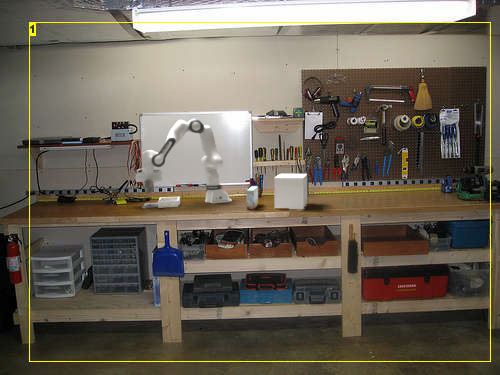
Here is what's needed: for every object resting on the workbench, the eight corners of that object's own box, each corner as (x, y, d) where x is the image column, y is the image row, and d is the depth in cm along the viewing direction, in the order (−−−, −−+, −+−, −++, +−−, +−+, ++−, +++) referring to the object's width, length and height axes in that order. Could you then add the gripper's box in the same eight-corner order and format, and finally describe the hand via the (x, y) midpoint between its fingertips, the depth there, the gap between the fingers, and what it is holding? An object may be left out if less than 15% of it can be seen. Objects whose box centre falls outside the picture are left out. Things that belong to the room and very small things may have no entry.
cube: (303, 211, 273) (303, 178, 269) (274, 210, 278) (274, 177, 275) (307, 204, 297) (307, 173, 293) (280, 203, 302) (280, 173, 298)
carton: (180, 202, 314) (179, 196, 313) (178, 206, 296) (178, 200, 295) (160, 203, 312) (160, 197, 311) (157, 207, 294) (157, 201, 294)
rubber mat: (158, 203, 311) (158, 202, 311) (156, 207, 295) (156, 206, 295) (145, 204, 310) (145, 203, 310) (141, 208, 294) (141, 207, 294)
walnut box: (153, 190, 307) (153, 179, 305) (151, 192, 295) (150, 181, 294) (147, 190, 306) (146, 179, 305) (145, 192, 294) (144, 181, 293)
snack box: (253, 210, 278) (253, 190, 276) (246, 209, 280) (245, 190, 277) (258, 204, 299) (258, 185, 297) (251, 204, 300) (251, 185, 298)
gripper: (161, 169, 302) (162, 185, 304) (136, 169, 300) (137, 186, 302) (160, 169, 296) (161, 187, 298) (134, 170, 294) (135, 188, 296)
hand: (149, 187), depth 300 cm, fingers closed on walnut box, 5 cm apart
